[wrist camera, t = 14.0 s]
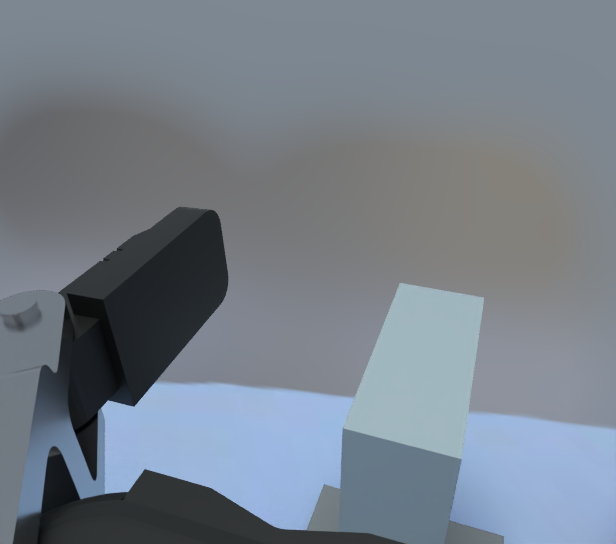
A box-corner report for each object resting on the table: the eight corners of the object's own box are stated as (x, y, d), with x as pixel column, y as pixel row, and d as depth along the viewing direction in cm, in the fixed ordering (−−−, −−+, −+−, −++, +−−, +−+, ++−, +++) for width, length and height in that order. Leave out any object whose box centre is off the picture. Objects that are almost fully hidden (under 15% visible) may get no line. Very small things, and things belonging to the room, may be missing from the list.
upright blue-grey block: (439, 532, 35) (484, 297, 26) (410, 709, 27) (461, 459, 18) (377, 513, 36) (400, 283, 27) (332, 678, 28) (342, 428, 19)
